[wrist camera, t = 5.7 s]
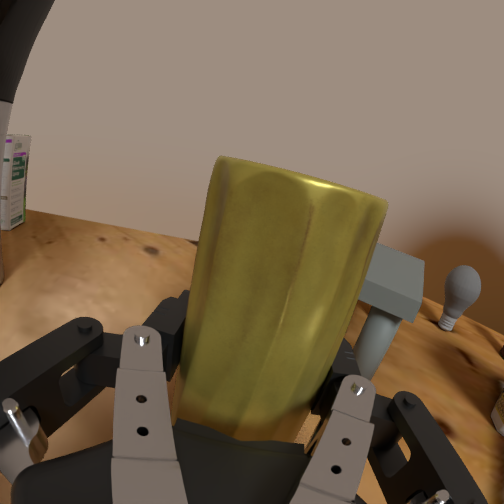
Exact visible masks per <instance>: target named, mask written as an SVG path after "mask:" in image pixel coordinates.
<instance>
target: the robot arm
mask: <svg viewBox="0 0 504 504" xmlns="http://www.w3.org/2000/svg"><path fill="white" fill-rule="evenodd" d="M54 1H55V0H0V284H1V283H2V281H3V279H4V269H3V259H2V246H1V183H2V170H3V159H4V151H5V144H6V137H7V136H6V135H7V130H8V124H9V119H10V114H11V109H12V104H13V101H14V97H15V93H16V90H17V87H18V84H19V81H20V79H21V76H22V74H23V71H24V68H25V65H26V62H27V59H28V57H29V54H30V51H31V49H32V46H33V44H34V42H35V39H36V37H37V35H38V33H39V31H40V29H41V27H42V25H43V23H44V21H45V19H46V17H47V15H48V13H49V11H50V9H51V7H52V5H53V3H54ZM189 293H190V291H188V290H184V291H183V292H182V294H181V295H180V296H179V298H178V299H177V298H174V297H169V298H167V299H165V300H163V301H162V302H161V303H160V304H159V305H158V307H157V308H156V309H155V310H154V312H152V314H151V315H150V316H149V317H148V318H147V320H146V321H145V322H144V323H143V324H142V326H140V325H139V326H132V327H130V328H128V329H126V330H125V332H124V334H123V335H119V334H111V333H105V332H103V326H102V324H101V323H100V322H99V321H98V320H96V319H94V318H90V317H79V318H75V319H73V320H71V321H70V322H68V323H66V324H64V325H62V326H61V327H59V328H57V329H55V330H54V331H52V332H50V333H48V334H47V335H45V336H43V337H41V338H40V339H38V340H36V341H34V342H33V343H31V344H29V345H27V346H26V347H24V348H22V349H21V350H19V351H17V352H15V353H14V354H12V355H10V356H9V357H7V358H5V359H4V360H2V361H0V471H1V473H2V474H3V475H4V476H5V477H6V478H7V480H8V481H9V482H10V483H11V484H12V489H11V504H367V503H366V502H365V501H363V500H362V499H361V498H360V497H359V496H358V495H357V494H356V492H357V489H358V486H359V483H360V480H361V476H362V473H363V470H364V466H365V462H366V459H367V458H368V460H369V463H370V465H371V467H372V469H373V472H374V474H375V476H376V479H377V481H378V483H379V485H380V488H381V490H382V492H383V495H384V497H385V499H386V502H387V504H488V503H487V501H486V499H485V497H484V495H483V494H482V492H481V490H480V489H479V487H478V486H477V484H476V482H475V481H474V479H473V477H472V476H471V474H470V473H469V471H468V469H467V468H466V466H465V465H464V463H463V462H462V460H461V458H460V457H459V455H458V454H457V452H456V451H455V449H454V448H453V446H452V445H451V443H450V442H449V440H448V439H447V437H446V436H445V434H444V433H443V431H442V430H441V428H440V427H439V425H438V424H437V422H436V421H435V420H434V418H433V417H432V415H431V414H430V412H429V411H428V409H427V408H426V407H425V405H424V404H423V402H422V401H421V400H420V399H419V398H418V397H417V396H416V395H414V394H412V393H410V392H407V391H400V392H398V393H396V394H395V396H394V397H393V399H390V398H387V397H384V396H381V395H378V394H376V389H375V386H374V385H373V384H372V382H370V381H369V380H368V379H366V378H364V377H362V376H361V373H360V370H359V367H358V364H357V361H356V360H355V356H354V354H353V350H352V347H351V345H350V344H349V343H348V342H347V341H346V339H345V338H343V340H342V342H341V345H340V347H339V350H338V352H337V354H336V357H335V359H334V361H333V364H332V366H331V368H330V370H329V372H328V375H327V377H326V379H325V381H324V383H323V385H322V388H321V390H320V392H319V394H318V396H317V398H316V400H315V402H314V404H313V406H312V408H311V414H314V415H320V417H321V419H320V421H319V422H318V424H317V426H316V428H315V430H314V432H313V434H312V436H311V438H310V440H309V442H308V444H307V446H306V448H305V450H304V444H298V443H289V442H282V441H275V440H268V441H240V440H237V439H235V438H232V437H230V436H228V435H225V434H223V433H221V432H219V431H217V430H215V429H212V428H210V427H208V426H204V425H200V424H197V423H193V422H190V421H187V420H183V419H180V418H177V420H176V423H175V425H174V426H172V424H171V417H170V409H169V401H168V392H167V383H166V381H169V382H170V381H171V379H172V377H173V375H174V373H175V371H176V369H177V367H178V365H179V361H180V355H181V348H182V342H183V334H184V327H185V320H186V313H187V306H188V299H189ZM72 366H74V368H73V369H71V370H70V371H68V372H67V373H66V374H64V375H63V376H62V377H61V375H62V374H63V373H64V372H65V371H67V370H68V369H69V368H71V367H72ZM105 387H112V388H115V400H114V418H113V439H112V440H110V441H107V442H104V443H101V444H99V445H96V446H93V447H90V448H87V449H84V450H81V451H78V452H75V453H71V454H68V455H65V456H61V457H58V458H55V459H51V460H47V461H43V462H41V460H42V459H43V458H44V454H45V453H46V451H47V449H48V439H47V438H48V437H49V436H50V435H52V434H53V433H54V432H55V431H56V430H57V429H59V428H60V427H61V426H62V425H63V424H64V423H65V422H67V421H68V420H69V419H70V418H71V417H72V416H74V415H75V414H76V413H77V412H78V411H79V410H80V409H82V408H83V407H84V406H85V405H86V404H87V403H88V402H90V401H91V400H92V399H93V398H94V397H95V396H97V395H98V394H99V393H100V392H101V391H102V390H103V389H104V388H105ZM402 437H403V438H404V440H405V442H406V443H407V445H408V447H409V449H410V451H411V457H410V460H409V461H407V460H406V458H405V456H404V454H403V452H402V450H401V448H400V447H399V445H398V441H399V440H400V439H401V438H402Z"/></svg>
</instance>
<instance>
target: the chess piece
mask: <svg viewBox="0 0 504 504" xmlns="http://www.w3.org/2000/svg"><path fill="white" fill-rule="evenodd" d="M500 355H501V356H502V358H503V359H504V345H503V348H502V349H501V350H500Z"/></svg>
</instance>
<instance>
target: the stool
mask: <svg viewBox="0 0 504 504" xmlns="http://www.w3.org/2000/svg"><path fill="white" fill-rule="evenodd" d="M423 281H424V261H422V260H420V259H417V258H415V257H412V256H410V255H407V254H405V253H402V252H400V251H397V250H395V249H392V248H390V247H387V246H384V245H381V244H379V243H377V244H376V247H375V250H374V253H373V256H372V259H371V262H370V265H369V268H368V271H367V274H366V277H365V280H364V283H363V286H362V289H361V292H360V295H359V298H358V299H359V300H361V301H363V302H365V303H368V304H370V305H372V307H371V310H370V312H369V314H368V317H367V319H366V321H365V324H364V326H363V328H362V330H361V333H360V335H359V337H358V339H357V341H356V344H355V346H354V348H353V354H354V356H355V360H356V361H357V364H358V367H359V370H360V373H361V376H362V377H364V378H366V379H368V380H369V381H371V379H372V377H373V375H374V374H375V372H376V370H377V368H378V366H379V365H380V363H381V361H382V359H383V357H384V355H385V353H386V351H387V350H388V348H389V346H390V344H391V342H392V340H393V338H394V336H395V334H396V331H397V329H398V327H399V325H400V323H401V321H402V319H404V320H407V321H409V322H411V323H413V322H414V320H415V317H416V315H417V313H418V311H419V309H420V306H421V304H422V296H423Z"/></svg>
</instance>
